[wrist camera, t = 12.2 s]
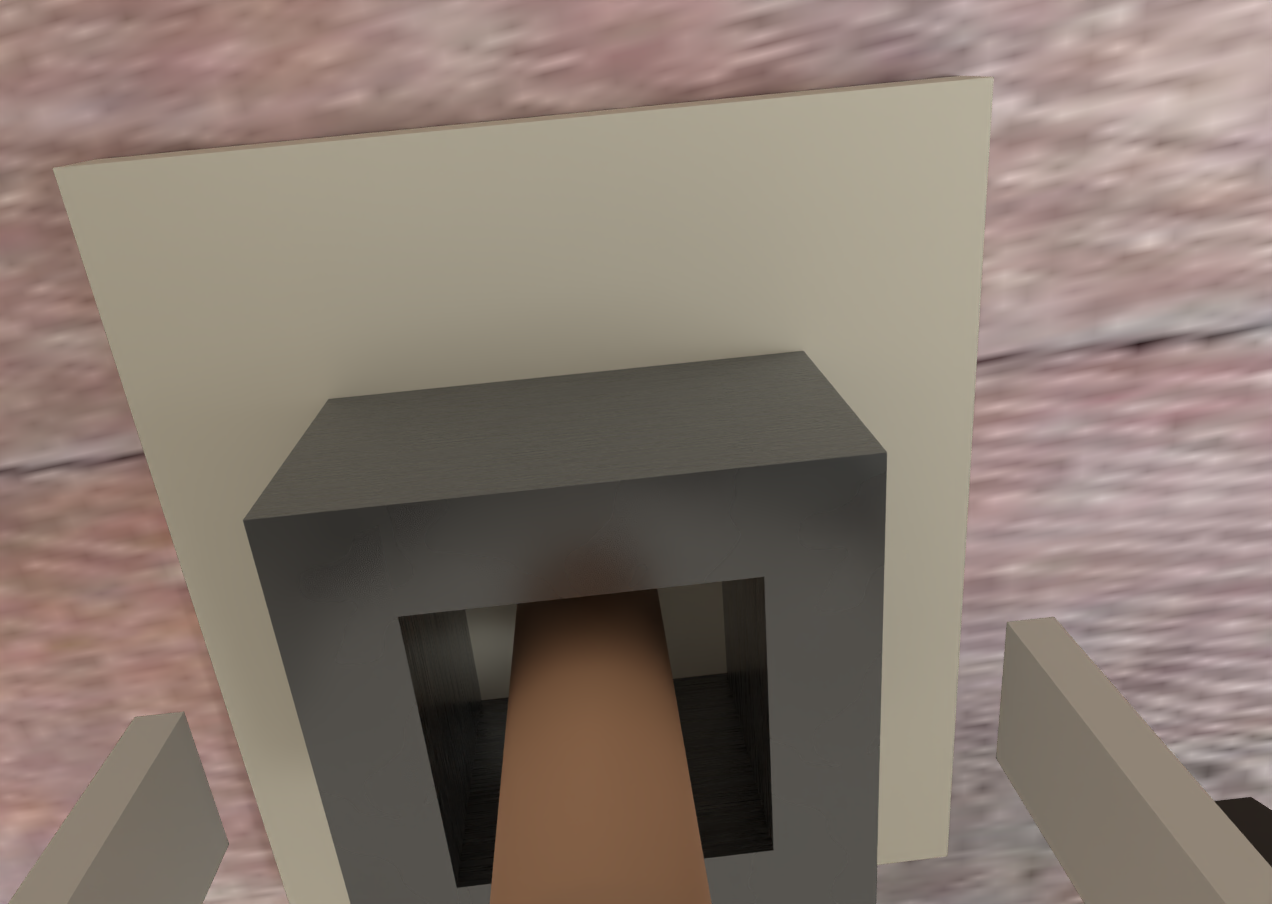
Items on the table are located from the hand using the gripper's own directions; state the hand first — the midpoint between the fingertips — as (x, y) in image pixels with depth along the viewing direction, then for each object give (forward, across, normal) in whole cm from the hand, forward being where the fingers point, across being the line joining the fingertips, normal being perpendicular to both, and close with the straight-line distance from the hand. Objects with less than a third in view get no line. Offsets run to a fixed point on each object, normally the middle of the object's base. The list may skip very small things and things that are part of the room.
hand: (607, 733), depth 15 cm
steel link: (+5, 0, 0) cm, 5 cm away
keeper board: (+6, 0, 0) cm, 6 cm away
